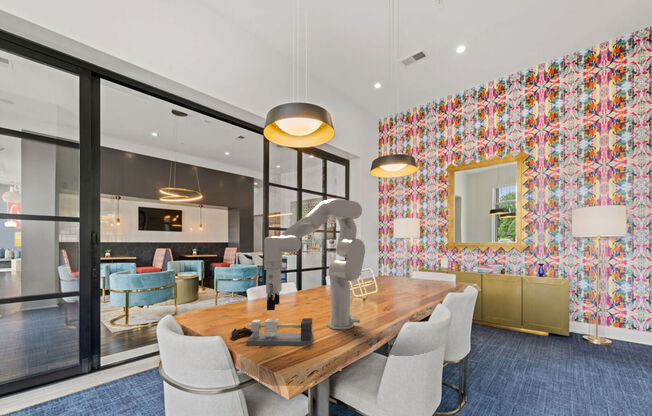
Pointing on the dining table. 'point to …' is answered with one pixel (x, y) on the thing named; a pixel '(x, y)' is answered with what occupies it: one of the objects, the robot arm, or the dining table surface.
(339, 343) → the dining table surface
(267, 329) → the sleeve
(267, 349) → the dining table surface
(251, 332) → the game controller
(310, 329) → the board
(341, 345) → the dining table surface
